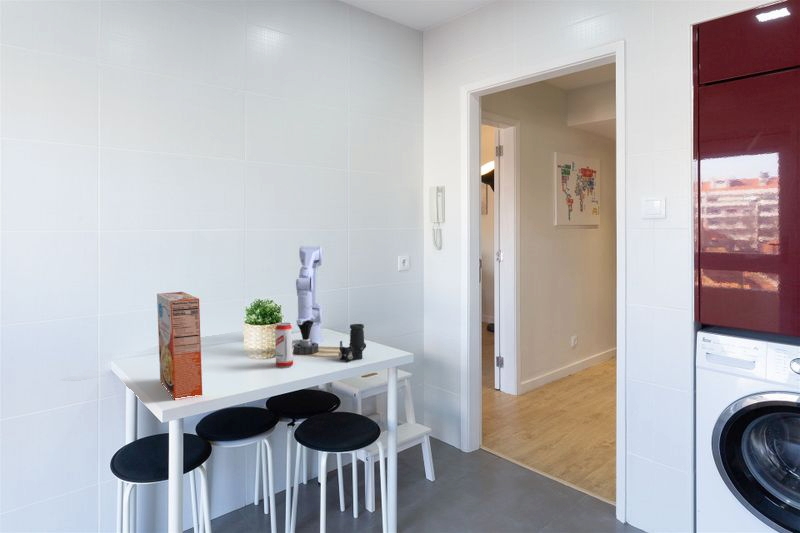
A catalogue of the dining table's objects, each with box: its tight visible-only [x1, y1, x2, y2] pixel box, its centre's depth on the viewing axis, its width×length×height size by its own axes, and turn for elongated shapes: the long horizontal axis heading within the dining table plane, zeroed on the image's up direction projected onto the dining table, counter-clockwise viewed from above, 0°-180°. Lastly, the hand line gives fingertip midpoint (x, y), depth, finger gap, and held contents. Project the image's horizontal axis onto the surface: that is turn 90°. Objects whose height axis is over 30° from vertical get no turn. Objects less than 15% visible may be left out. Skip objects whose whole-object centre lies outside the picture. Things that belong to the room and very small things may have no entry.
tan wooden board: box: [293, 345, 341, 359], centre depth 208 cm, size 18×24×1 cm
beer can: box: [274, 322, 294, 369], centre depth 188 cm, size 6×6×16 cm
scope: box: [339, 323, 367, 363], centre depth 195 cm, size 8×14×10 cm
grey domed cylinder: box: [299, 338, 312, 347], centre depth 207 cm, size 5×5×5 cm
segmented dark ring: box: [293, 342, 319, 355], centre depth 207 cm, size 10×10×3 cm
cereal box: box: [156, 291, 203, 399], centre depth 161 cm, size 23×8×30 cm, turn 35°
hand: (305, 339), depth 207 cm, fingers closed
